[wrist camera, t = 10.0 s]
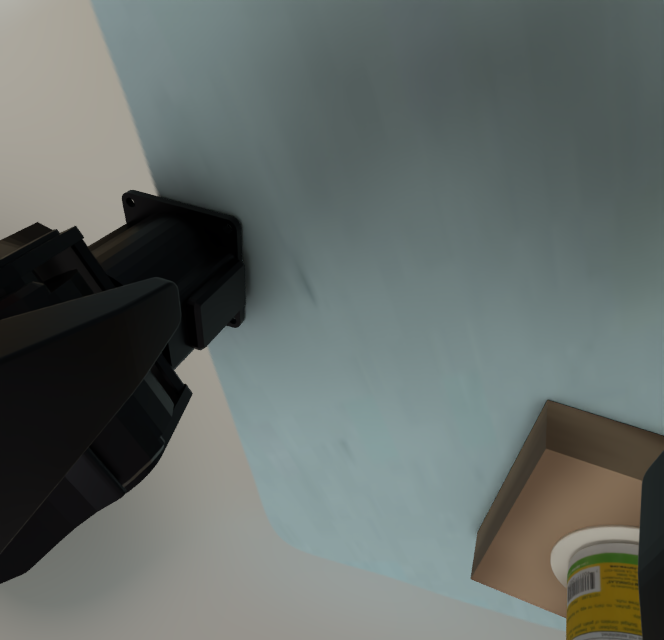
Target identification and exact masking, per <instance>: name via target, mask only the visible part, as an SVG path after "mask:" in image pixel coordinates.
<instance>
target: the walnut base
mask: <svg viewBox="0 0 664 640" xmlns="http://www.w3.org/2000/svg"><path fill="white" fill-rule="evenodd" d="M663 450H664V436H662V435H658V434H655V433H652V432H649V431H646V430H642V429H639V428H636V427H633V426H630V425H626V424H623V423H620V422H617V421H614V420H610V419H607V418H604V417H601V416H598V415H594V414H591V413H588V412H585V411H581V410H578V409H575V408H572V407H569V406H565V405H562V404H559V403H556V402H553V401H549V400H547V402H546V404H545V406H544V407H543V409H542V411H541V413H540V415H539V417H538V419H537V421H536V423H535V424H534V426H533V428H532V430H531V432H530V434H529V436H528V438H527V440H526V442H525V443H524V445H523V447H522V449H521V451H520V453H519V455H518V457H517V459H516V461H515V462H514V464H513V466H512V468H511V470H510V472H509V474H508V476H507V478H506V479H505V481H504V483H503V485H502V487H501V489H500V491H499V493H498V495H497V497H496V498H495V500H494V502H493V504H492V506H491V508H490V510H489V512H488V514H487V515H486V517H485V519H484V521H483V523H482V525H481V527H480V529H479V531H478V533H477V539H476V546H475V553H474V560H473V566H472V573H471V579H472V580H474V581H477V582H479V583H481V584H484V585H486V586H489V587H491V588H494V589H496V590H499V591H501V592H503V593H506V594H508V595H511V596H513V597H516V598H518V599H521V600H523V601H525V602H528V603H530V604H533V605H535V606H538V607H540V608H543V609H545V610H547V611H550V612H552V613H555V614H557V615H560V616H562V617H565V618H567V572H568V565H569V562H570V560H571V559H572V557H573V556H574V555H575V554H576V553H577V552H579V551H581V550H582V549H585V548H587V547H590V546H594V545H598V544H606V543H624V544H634V545H639V529H640V510H641V490H642V481H643V477H644V475H645V473H646V471H647V469H648V468H649V467H650V466H651V465H652V463H653V462H654V461H655V460H656V459H657V457H658V456H659V455H660V454H661V453H662V451H663Z"/></svg>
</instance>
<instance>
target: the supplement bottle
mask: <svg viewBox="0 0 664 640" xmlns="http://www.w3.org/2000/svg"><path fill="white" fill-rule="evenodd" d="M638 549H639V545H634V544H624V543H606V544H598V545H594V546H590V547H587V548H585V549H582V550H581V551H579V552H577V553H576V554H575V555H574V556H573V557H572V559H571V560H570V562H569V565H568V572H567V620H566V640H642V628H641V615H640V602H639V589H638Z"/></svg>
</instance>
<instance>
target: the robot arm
mask: <svg viewBox="0 0 664 640" xmlns="http://www.w3.org/2000/svg"><path fill="white" fill-rule="evenodd" d="M132 200H133V201H134V202H133V201H132ZM122 202H123V208H124V213H125V218H126V223H127V224H125V225H123V226H122V227H120V228H118V229H117V230H115V231H113V232H112V233H110V234H108V235H106V236H105V237H103V238H101V239H100V240H98V241H97V242H95V243H93V244H91V245H90V246H88V247H87V245H86V244H85V242H84V241H83V238H84V237H83V235H82V234H81V232H80V231H79V229H78V228H77V227H76V226H74V227H72V228H70V229H68V230H66V231H63V232H61V233H59V231H58V230H57V229H56V230H51V229H50V228H48V227H46V226H44V225H42V224H40V223H38V222H37V223H35V224H33V225H31V226H29V227H27V228H24V229H22V230H21V231H18V232H16V233H15V234H12V235H10V236H8V237H6V238H4V239H2V240H0V584H1V583H3V582H6V581H8V580H10V579H13V578H15V577H17V576H20V575H22V574H24V573H26V572H27V571H28V570H30V569H31V568H32V567H33V566H34V565H35V564H36V563H37V562H38V561H39V560H41V559H42V558H43V557H44V556H45V555H46V554H47V553H48V552H49V551H50V550H51V549H52V548H53V547H54V546H56V544H58V543H59V542H60V541H61V540H62V539H63V538H64V537H65V536H67V535H68V534H69V533H70V532H71V531H72V530H74V529H75V528H76V527H77V526H79V525H80V524H81V523H83V522H84V521H86V520H87V519H88V518H90V516H92V515H94V514H95V513H96V512H98V511H100V510H101V509H103V508H104V507H106V506H108V505H110V504H112V503H113V502H115V501H117V500H118V499H120V498H121V497H123V496H124V495H125V493H127V492H129V491H130V490H131V489H132V488H133V487H135V486H136V485H137V484H139V483H140V482H141V481H142V480H143V479H144V478H145V477H146V476H147V475H148V474H149V473H150V472H151V471H152V469H153V468H154V467H155V465H156V464H157V463H158V461H159V460H160V458H161V456H162V454H163V453H164V450H165V448H166V446H167V444H168V442H169V440H170V438H171V436H172V434H173V432H174V430H175V428H176V426H177V424H178V422H179V420H180V418H181V416H182V414H183V412H184V410H185V408H186V406H187V404H188V402H189V400H190V398H191V396H192V392H191V390H190V389H189V388H188V386H187V385H186V384H183V383H182V381H181V380H180V378H179V377H178V375H177V374H176V372H175V371H174V370H175V369H176V367H177V366H178V365H179V364H180V363H181V362H182V361H183V360H184V359H185V358H186V357H187V356H188V355H189V354H190V353H191V352H192V351H193V350H194V349H198V350H202V349H204V348H205V347H206V346H207V345H208V344H209V343H210V342H211V341H212V340H213V339H214V338H215V337H216V336H217V335H218V334H219V332H220V331H221V330H222V329H223V328H224V327H225V326H226V325H227V326H230V327H234V328H237V327H239V326H240V325H241V324H242V323H243V321H244V305H245V304H246V295H245V265H244V263H243V261H242V238H241V225H240V223H239V221H238V220H237V219H236V218H235V217H233V216H230V215H226V214H222V213H218V212H215V211H211V210H207V209H203V208H200V207H196V206H192V205H188V204H185V203H181V202H177V201H173V200H170V199H166V198H162V197H158V196H154V195H151V194H147V193H143V192H139V191H136V190H130V191H128V192H126V193H124V194H123V196H122ZM227 224H228V225H230V226H231V227H232V230H230V229H229V228H228V226H227ZM233 317H234V318H235V319H234V318H233ZM638 589H639V602H640V615H641V628H642V640H664V450H663V451H662V453H661V454H660V455H659V456H658V457H657V459H656V460H655V461H654V462H653V463H652V465H651V466H650V467H649V468H648V469H647V471H646V473H645V475H644V477H643V481H642V490H641V510H640V529H639V549H638Z"/></svg>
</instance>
